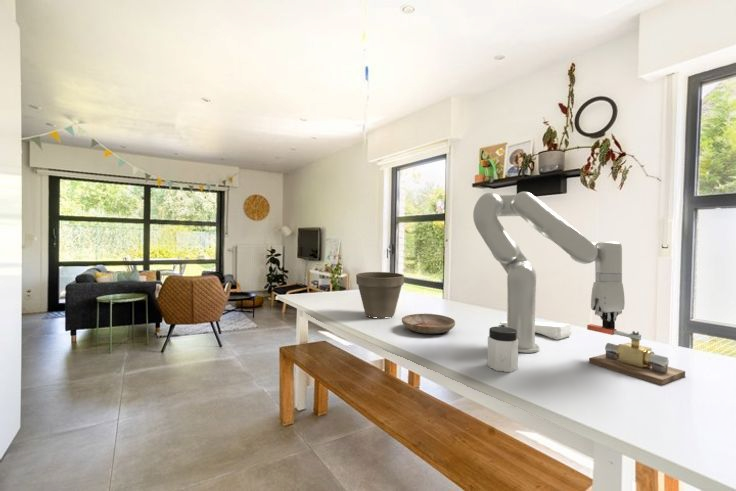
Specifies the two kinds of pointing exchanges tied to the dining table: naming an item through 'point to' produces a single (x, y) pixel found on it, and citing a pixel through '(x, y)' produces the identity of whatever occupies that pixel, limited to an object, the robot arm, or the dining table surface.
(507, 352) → the jar
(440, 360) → the dining table surface
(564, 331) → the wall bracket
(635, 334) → the lever
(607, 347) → the ball valve
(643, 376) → the base board
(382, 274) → the plant pot
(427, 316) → the ceramic bowl
